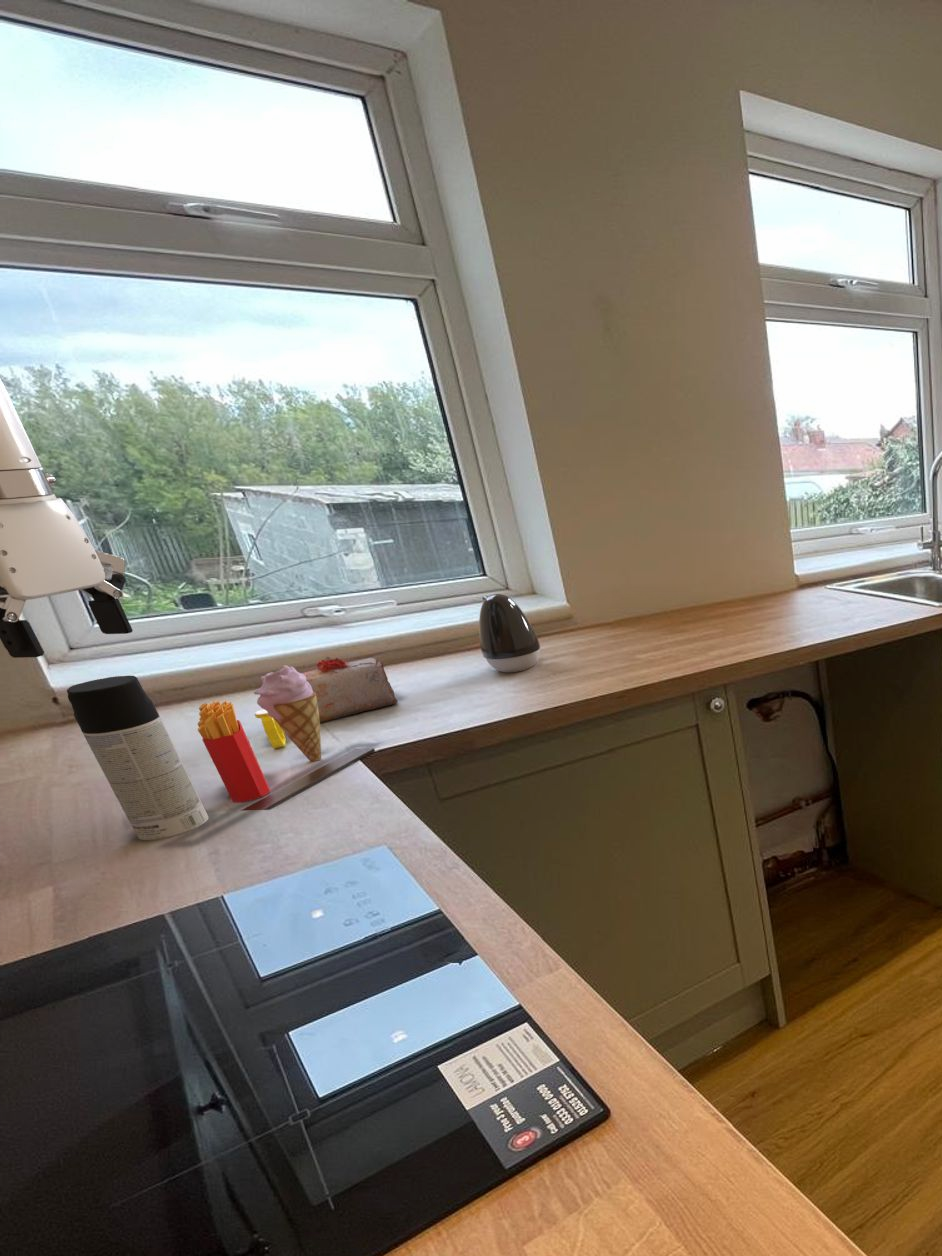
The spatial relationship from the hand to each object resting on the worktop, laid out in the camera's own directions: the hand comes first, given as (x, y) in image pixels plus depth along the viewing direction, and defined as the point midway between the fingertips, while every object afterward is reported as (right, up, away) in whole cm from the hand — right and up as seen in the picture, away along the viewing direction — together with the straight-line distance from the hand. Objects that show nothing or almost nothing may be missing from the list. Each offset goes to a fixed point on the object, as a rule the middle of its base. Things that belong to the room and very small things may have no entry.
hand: (75, 644), depth 93 cm
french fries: (+2, -18, +20) cm, 27 cm away
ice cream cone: (+2, -14, +30) cm, 33 cm away
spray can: (+2, -23, +10) cm, 25 cm away
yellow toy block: (-9, -12, +37) cm, 40 cm away
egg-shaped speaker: (+8, +4, +71) cm, 72 cm away
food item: (-9, -6, +51) cm, 52 cm away
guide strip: (+8, -18, +19) cm, 27 cm away
